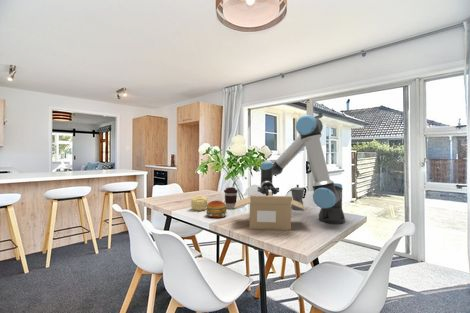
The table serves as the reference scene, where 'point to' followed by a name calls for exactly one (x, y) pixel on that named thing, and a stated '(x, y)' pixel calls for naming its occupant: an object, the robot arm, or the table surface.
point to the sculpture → (199, 203)
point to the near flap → (271, 199)
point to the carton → (269, 215)
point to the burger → (216, 209)
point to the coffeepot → (298, 196)
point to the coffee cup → (230, 197)
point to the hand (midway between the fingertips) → (270, 194)
